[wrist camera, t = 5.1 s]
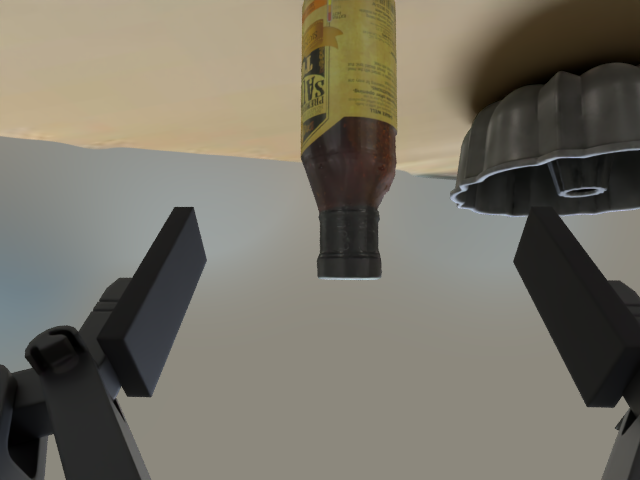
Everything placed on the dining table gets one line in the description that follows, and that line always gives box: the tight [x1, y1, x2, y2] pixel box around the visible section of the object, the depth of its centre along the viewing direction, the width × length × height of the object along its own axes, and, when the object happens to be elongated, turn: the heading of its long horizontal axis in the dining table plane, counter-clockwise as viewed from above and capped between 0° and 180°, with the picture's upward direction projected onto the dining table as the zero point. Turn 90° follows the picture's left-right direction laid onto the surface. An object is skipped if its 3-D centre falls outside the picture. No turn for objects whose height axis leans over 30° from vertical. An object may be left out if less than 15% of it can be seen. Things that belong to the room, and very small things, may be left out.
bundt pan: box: [450, 63, 640, 217], centre depth 44 cm, size 26×26×10 cm
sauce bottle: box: [301, 0, 397, 280], centre depth 27 cm, size 6×6×20 cm
